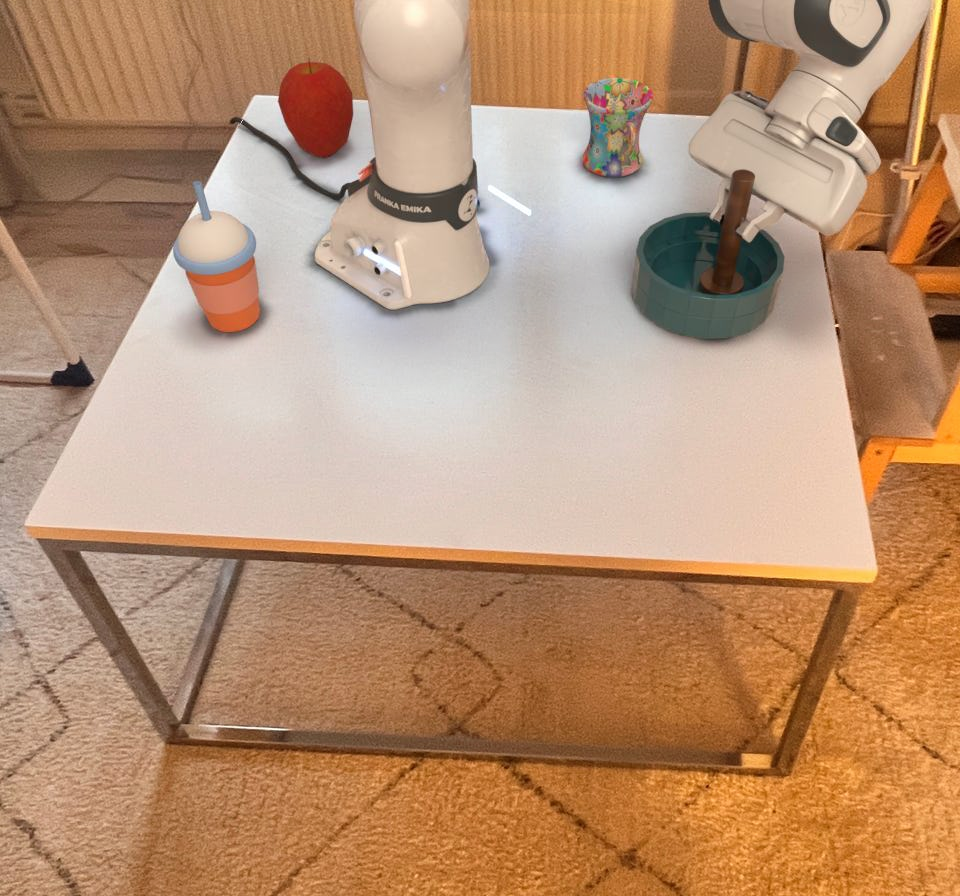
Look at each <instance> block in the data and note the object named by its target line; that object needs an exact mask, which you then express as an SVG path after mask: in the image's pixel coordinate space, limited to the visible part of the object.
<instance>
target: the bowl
mask: <svg viewBox="0 0 960 896" xmlns="http://www.w3.org/2000/svg"><path fill="white" fill-rule="evenodd" d="M711 213H712V212H708V211H699V212H698V211H697V212H684V213H683V212H682V213H680V214H679V213H678V214H675V215H672V216H667V217H664V218H662V219H660V220H658V221H657V222H655V223H653V224H651V225H649V226H648V227H647V229H646V230H644V232H643V233H642V234H641V236H639V238H638V242H637V245H636V249H635V257H634V266H633V272H632V280H631V281H632V282H631V292H632V293H631V294H632V297H633V300H634V304H635V305H636V306H637V308H638V309H639V310H640V312H641V313H642V314H643V315H644V316H645V317H646V318H647V319H649V320H650V321H652V322H653V323H655V324H656V325H658V326H659V327H661V328H662V329H664V330H667V331H670V332H673V333H675V334H678V335H681V336H685V337H691V338H699V339H705V340H713V339H729V338H733V337H738V336H740V335H744V334H747V333H751V332H752V331H753V330H755V329H756V328H758V327H760V326H761V325H763V324H764V323H766V321H767V320H768V318H769V317H770V315H771V314H772V312H773V311H774V308H775V303H776V300H777V296H778V292H779V289H780V285H781V283H782V278H783V274H784V269H785V258H786V257H785V255H784V252H783V250H782V248H781V246H780V243H779V242H778V241H777V240H776V239H775V238H774V237H773V236H771V234H769V232H767V231H766V230H765V229H762V230H759V232H758V233H757V234H756V236H755V237H754V238H753V240H752V241H751V242H747V241H745V240H743V239H742V241H741V246H740V250H739V255H738V260H737V264H736V269H735V271H736V272H737V273H739V274H740V275H741V276H742V278H743V280H744V286H743V291H742V293H738V294H729V295H710V294H703V293H701V291H700V289H699V283H700V278H701V275H702V274H703V273H704V272H705V271H706V270H708V269H711V268H714V265H715V260H716V255H717V250H718V245H719V239H720V234H721V229H722V226H720V225H719V224H717V223H715V222H714V221H712V220H711V219H710V214H711Z"/></svg>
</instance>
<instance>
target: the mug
mask: <svg viewBox="0 0 960 896" xmlns="http://www.w3.org/2000/svg"><path fill="white" fill-rule="evenodd" d="M582 96H583V100H584V103H585V105H586V108H587V112H588V116H589V124H590V132H589V133H590V134H589V140H588V143H587V146H586V149H585V150H584V152H583V154H582V157H581V160H582V163H583V166H584V167H585V168H586V169H587V170H588V171H590V172H591V173H594V174H596V175H598V176H602V177H608V178H619V177H625V176H629V175H632V174H633V173H635V172H637V171H638V170H639V169H640V168H641V167H642V165H643V161H644V159H643V155H642V153H641V148H640V131H641V127H642V124H643V121H644V118H645V116H646V114H647V111H648V109H649V108H650V106H651V104H653V103H652V102H653V101H654V93H653V91H652V89H651V88H650V87H649V86H648V85H647V84H645V83H643V82H641V81H638V80H636V79H631V78H626V77H608V78H602V79H599V80H595V81H594V82H591V83H590V84H588V85H587V86H586V88H585V89H583V95H582Z"/></svg>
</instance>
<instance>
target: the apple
mask: <svg viewBox="0 0 960 896" xmlns="http://www.w3.org/2000/svg"><path fill="white" fill-rule="evenodd" d="M353 96H354V95H353V91H352V89H351V88H350V86H349V84H348V82H347V81H346V78H345V77H344V75H343V74H341V72H340V71H338V70H337V69H336V68H335V67H333V66H331V64H328V63H325V62H317V61H311V60H310V58H308V61H307V62H301V63H298V64H296V65H294V66H292V67H291V68H290V69H288V70H287V73H286V74H285V75H284V77H283V78H282V79H281V82H280V86H279V91H278V97H277V98H278V99H277V103H278V107H279V108H280V112H281V115H282V118H283V121H284V124H285V126H286V127H287V130H288V131H289V133H290V134H291V136H292V137H293V139H294V141H295V142H296V144H297V145H298V147H299V148H301V149H302V150H303V151H305V152H307V153H309V154H310V155H311V156H313V157H316V158H322V159H323V158H324V159H325V158H329V157H332V156H334V155H335V154H336V153H337V152H338V151H340V149H341V148H343V147H344V146H345V145H346V144H347V143H348V141H349V137H350V132H351V127H352V122H353V119H354V99H353Z"/></svg>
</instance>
